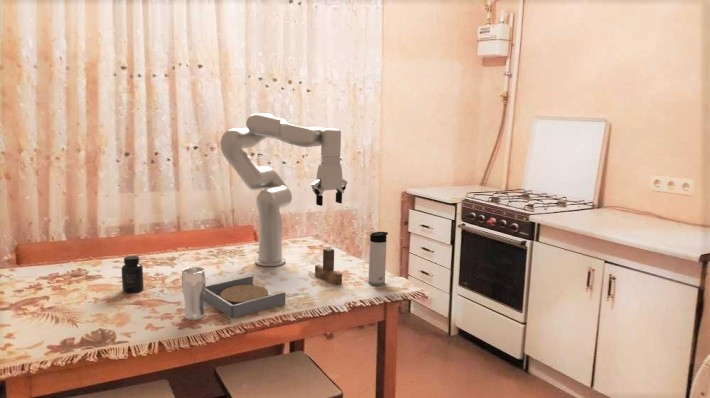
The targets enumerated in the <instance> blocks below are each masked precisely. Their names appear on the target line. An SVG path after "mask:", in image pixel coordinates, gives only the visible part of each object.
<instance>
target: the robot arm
mask: <svg viewBox="0 0 710 398" xmlns="http://www.w3.org/2000/svg"><path fill="white" fill-rule="evenodd" d="M245 125H246V126H245V127H244V128H243V127H241V128H237V127H235V128H230V129H227V130H226V131H225V132H223V134H222V136H221V137H220V138H221V139H220V150H221V153H222V155H223V157H224V158H225V160H226V161H227V162H228V163H229V164H230V166H231V167H232V168H233V169H234V171H235V172H236V173H237V175H238V176H239V178H240V180H242V181H243V183H244V184H245V186H246V187H247V188H248V189H249V190H251V191H253V192H254V191H260V192H259V193H258V195H257V197H256V207H257V214H258V250H256V254H258V257H256V258H255V259H254V261H255V264H257V265H258V266H262V267H277V266H282V265H284V264H286V258H285V257H283V221H282V220H283V218H282V215H281V212H280V209H283V208H287V206H289V205H290V204H291V203H292V200H293V199H292V198H293V196H292V195H293V194H292V192H291V190H290V188H289V187H288V185H287V184H286V183H285V181H284V180H283V179H282V178H281V176H280V175H279V173H278V172H277V171H276V170H275V169H274V168H272V167H270V166H265V165H263V166H259V165H258V164H257V163H256V162H255V161H254V159H253V158H252V157H251V156H250V154H248V152H246V151H244V149H249V148H253V147H255V146H257V145H258V144H260V143H261V142H262V141H264V140H265V139H266V138H270V139H275V140H277V141H278V140H279V141H281V142H283V143H286V144H289V145H293V146H296V147H302V148H311V147H312V148H313V147H321V148H320V163H319V164H318V167H317V172H316V179H315V181H314V182H312V183H311V185H310V186H311V188H312V192H313V193H314V195H316V196H315V200H316V201H315V204H316V206H320V207H322V206H323V204H324V203H323V201H324V196H323V194H324V192H325V191H334V190H335V191H336V192H335V203H337V204H342V203H343V193H344V191H345V190H346V188H347V185H348V183H349V182H348V181H347V180H346V179H344V178H343V169H342V168H343V167H342V164H341V161H342V160H343V159H342V158H343V157H341V153H342V152H341V147H342V131H341V130H340V129H338V128H324V127H319V126H308V127H304V126H299V125H295V124H292V123H291V124H290V123H288V121H287V120H286V119H284V118H280V117H276V116H273V114H271V113H264V112H263V113H260V112H259V113H253V114H250V115H249V116H248V117H247V118H246V123H245Z"/></svg>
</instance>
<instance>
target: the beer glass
mask: <svg viewBox="0 0 710 398" xmlns="http://www.w3.org/2000/svg"><path fill="white" fill-rule="evenodd" d="M181 272H182V273H181V289H182V294H183V298H184V303H185V304H184V305H185V310H184V318H185V319H186V320H190V321H195V320H200V319H203V318H204V317H205V316H206V315H205V313H206V312H205V309H204V301H205V300H204V294H205V286H206V272H205V268H204V267H200V266H191V267H190V266H189V267H186V268H183V269H182V271H181Z"/></svg>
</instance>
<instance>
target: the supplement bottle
mask: <svg viewBox="0 0 710 398" xmlns="http://www.w3.org/2000/svg"><path fill="white" fill-rule="evenodd" d="M123 260H124V261H123V265H122V267H121V284H122V291H123V293H125V294H135V293H139V292H142V291H143V290H144V289H145V288H144V287H145V286H144V269H143V265H142V264H141V263H140V257H139V256H138V255H128V256H125V257H124V258H123Z"/></svg>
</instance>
